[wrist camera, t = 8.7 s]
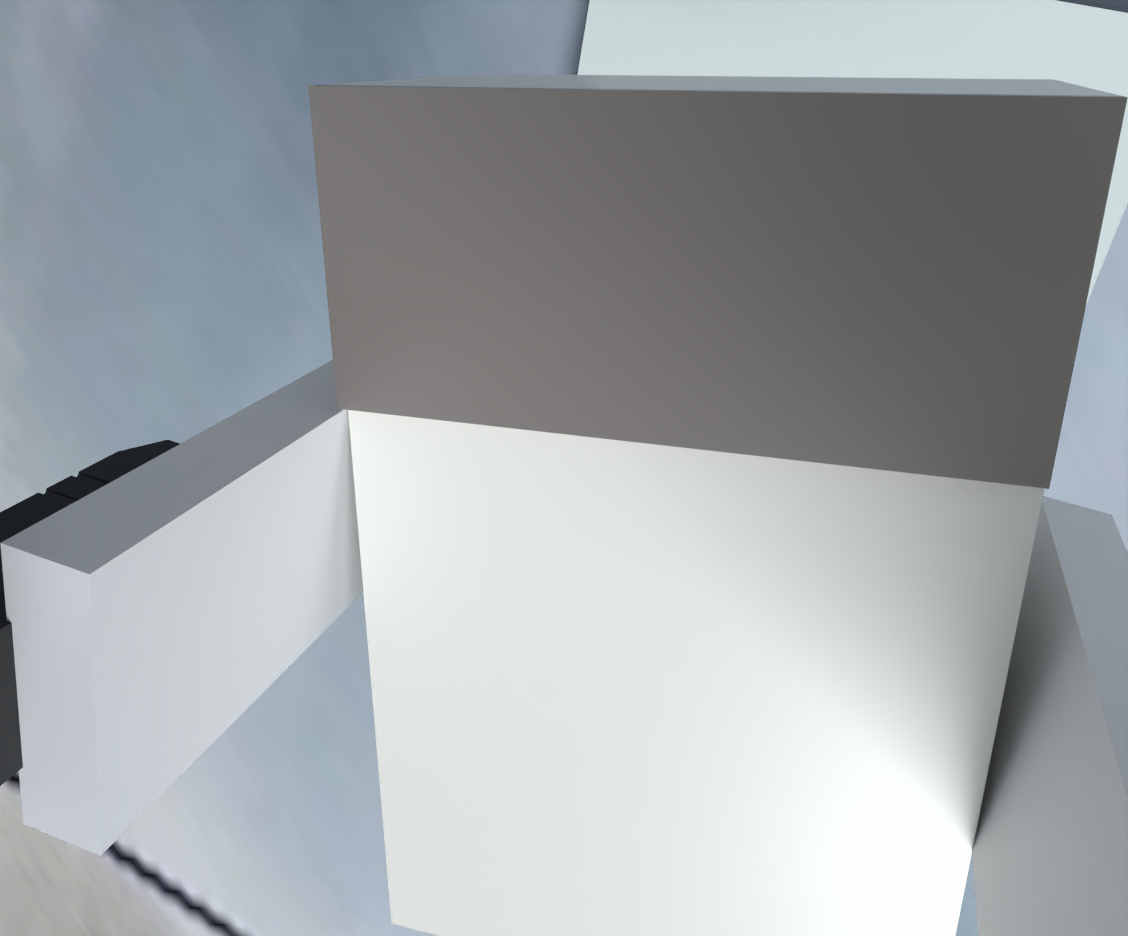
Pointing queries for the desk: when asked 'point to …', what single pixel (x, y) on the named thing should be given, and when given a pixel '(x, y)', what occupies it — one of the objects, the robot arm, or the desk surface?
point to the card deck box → (698, 479)
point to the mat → (872, 48)
